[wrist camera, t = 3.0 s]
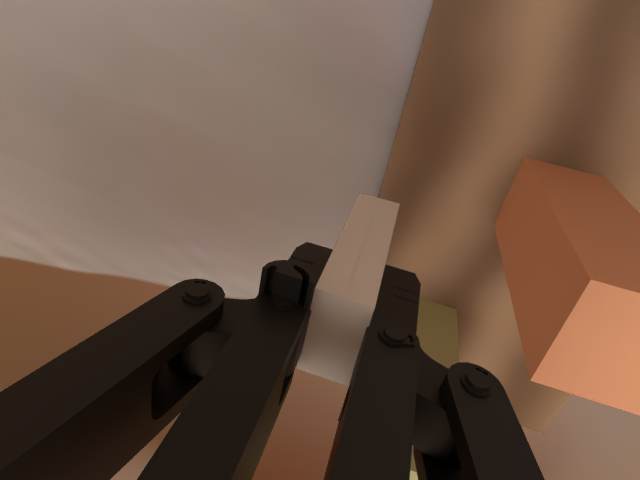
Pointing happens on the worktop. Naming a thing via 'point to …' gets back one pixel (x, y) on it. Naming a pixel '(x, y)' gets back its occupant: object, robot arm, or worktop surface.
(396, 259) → the walnut board
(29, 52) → the worktop surface
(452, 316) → the olive pillar
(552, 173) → the terracotta pillar
